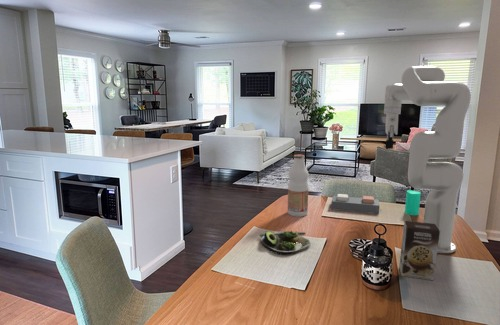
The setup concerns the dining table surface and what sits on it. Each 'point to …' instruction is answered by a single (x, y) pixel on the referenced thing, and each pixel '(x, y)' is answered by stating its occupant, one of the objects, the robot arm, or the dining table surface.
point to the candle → (412, 202)
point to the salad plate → (284, 241)
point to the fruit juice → (298, 188)
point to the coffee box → (419, 250)
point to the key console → (355, 205)
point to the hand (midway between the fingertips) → (389, 148)
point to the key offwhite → (342, 197)
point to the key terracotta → (368, 199)
